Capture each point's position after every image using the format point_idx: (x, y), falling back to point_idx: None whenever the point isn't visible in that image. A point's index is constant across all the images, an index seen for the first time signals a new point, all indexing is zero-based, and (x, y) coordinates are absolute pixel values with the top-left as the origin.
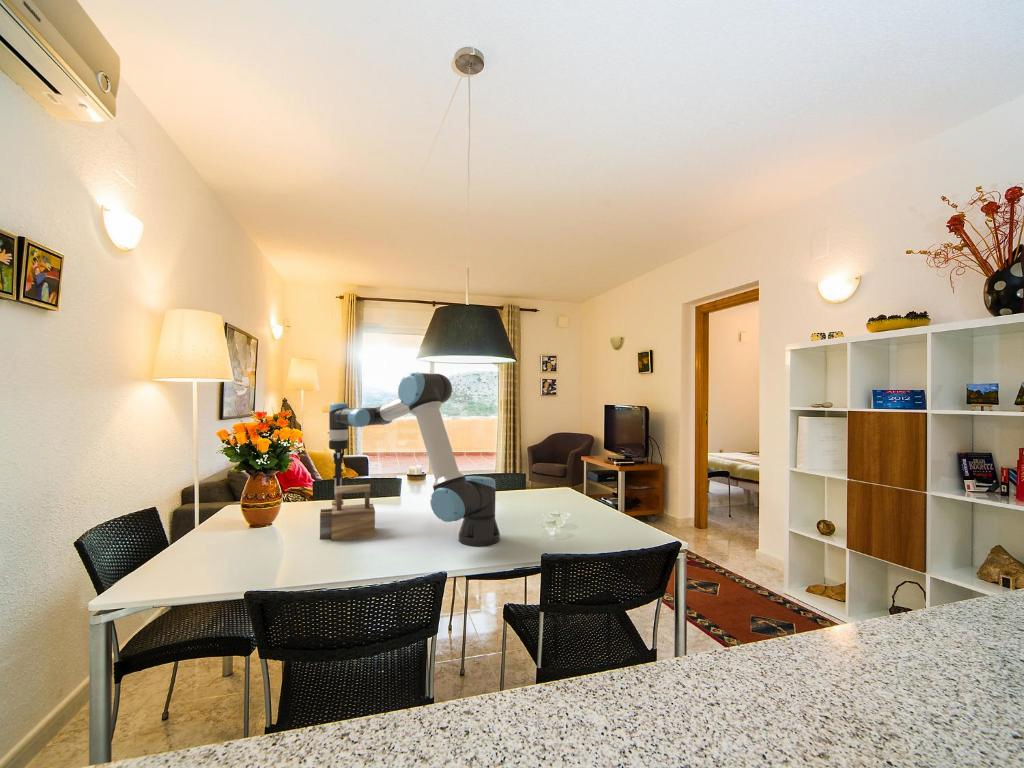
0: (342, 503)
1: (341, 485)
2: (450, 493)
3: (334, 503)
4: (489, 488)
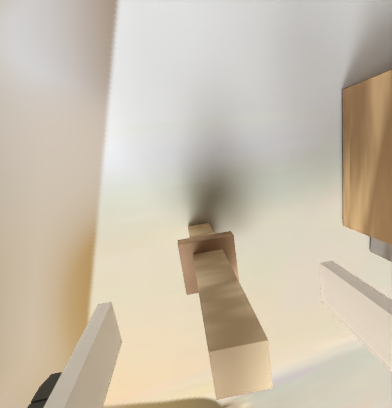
0: (233, 237)
1: (383, 295)
2: None
3: (236, 273)
4: None
